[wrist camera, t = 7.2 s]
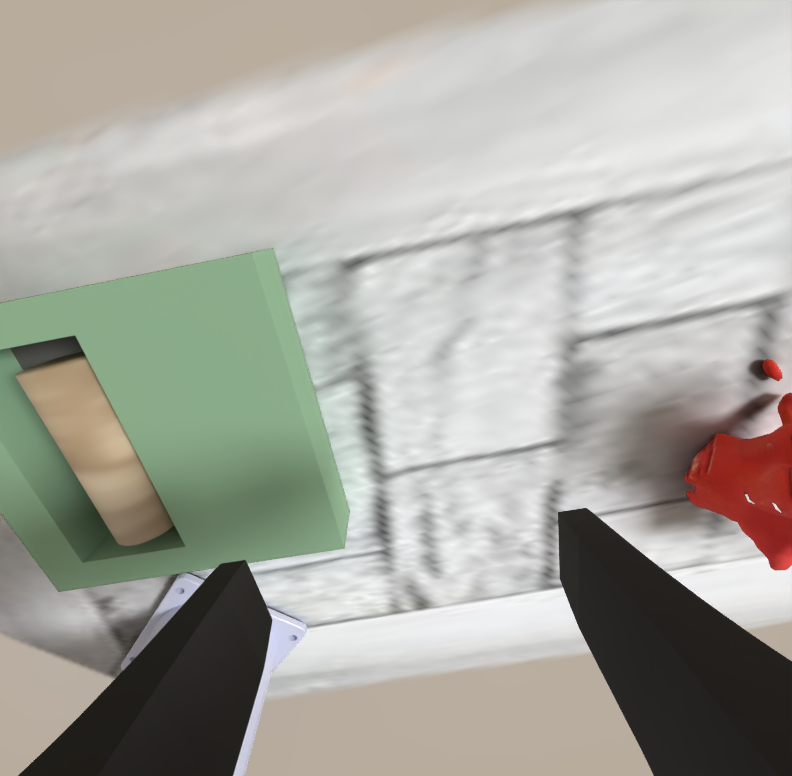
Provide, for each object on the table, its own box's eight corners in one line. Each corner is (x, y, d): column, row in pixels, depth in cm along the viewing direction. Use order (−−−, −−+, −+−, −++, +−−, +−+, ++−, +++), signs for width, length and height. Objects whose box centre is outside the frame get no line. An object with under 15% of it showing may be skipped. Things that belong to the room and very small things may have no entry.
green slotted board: (273, 248, 15) (252, 253, 13) (349, 511, 20) (344, 548, 18) (-59, 314, 16) (-134, 330, 14) (94, 551, 21) (58, 591, 19)
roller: (112, 525, 18) (178, 491, 20) (120, 556, 16) (194, 515, 18) (17, 369, 15) (105, 344, 17) (12, 382, 13) (113, 352, 15)
